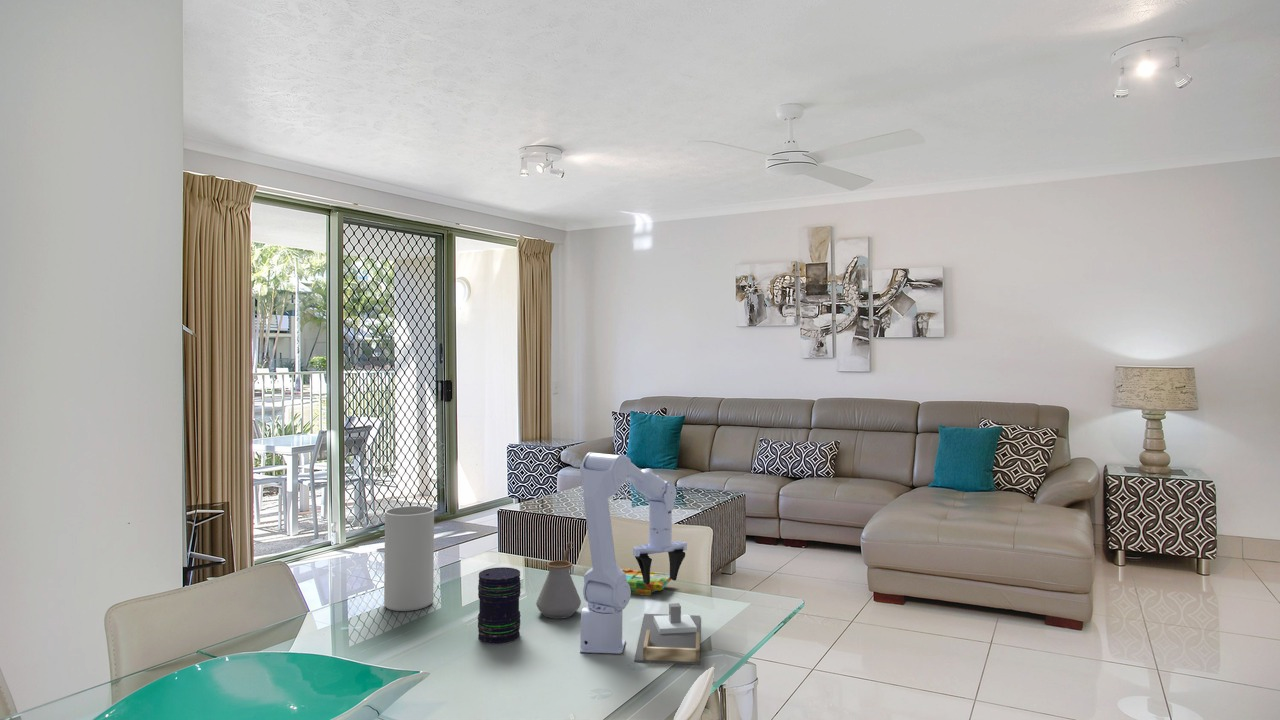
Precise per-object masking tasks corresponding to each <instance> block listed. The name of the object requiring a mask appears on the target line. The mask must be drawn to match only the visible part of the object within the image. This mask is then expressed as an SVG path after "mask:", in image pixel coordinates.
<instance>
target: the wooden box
mask: <svg viewBox="0 0 1280 720" xmlns="http://www.w3.org/2000/svg"><path fill="white" fill-rule="evenodd" d="M649 644H650V630H647V631H646V636H645V641H644V646H643V660H659V661H684V662H699V655H700V656H701V652H700V651H701V631H700V632H696V648H671V647H649Z"/></svg>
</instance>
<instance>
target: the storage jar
mask: <svg viewBox="0 0 1280 720" xmlns="http://www.w3.org/2000/svg"><path fill="white" fill-rule="evenodd" d="M521 584H522V583H521V571H520V570H519V569H518V568H515V567H504V566H503V567H493V568H492V567H491V568H490V567H489V568H486V569H484V570H481V571H480V572H479V573H478V584H477V590H478V593H477V597H478V599H479V605H478V606H479V613H478V615H477V629H478V636H477V638H478V641H479V642H482V643H484V644H488V645H503V644H509V643H513V642H515V641H517V640H518V639H519V638H520V637H521V636H520V635H521V632H520V629H521V611H520V597H521V593H522V591H521V586H522V585H521Z"/></svg>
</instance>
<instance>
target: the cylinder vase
mask: <svg viewBox="0 0 1280 720" xmlns="http://www.w3.org/2000/svg"><path fill="white" fill-rule="evenodd" d="M434 545H435V508H434V507H433V506H432V507H431V506H426V505H425V506H424V505H408V506H407V505H406V506H398V507H392V508H389V509H386V510H385V511H384V571H383V572H384V574H383V575H384V576H383V577H384V578H383V580H384V581H383V582H384V583H383V587H384V589H383V593H384V594H383V595H384V597H383V602H384V603H383V605H384V606H385V608H386V609H387V610H390V611H395V612H411V611H418V610H422V609H425V608H428V607H429V606H430V605H432V604H433V602H434V583H435V582H434V580H435V579H434V576H435V575H434V573H435V571H434V570H435V569H434V568H435V567H434V566H435V564H434V563H435V558H434V555H435V554H434V552H435V546H434Z"/></svg>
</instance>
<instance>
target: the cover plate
mask: <svg viewBox="0 0 1280 720" xmlns="http://www.w3.org/2000/svg"><path fill="white" fill-rule="evenodd" d="M690 615H691V614H682V605H680V603H679V602H675V603H674V602H673V603H672V602H671V603H668V614H667V615H663V616H654V623H655V625H656V627H657V629H658V631H659V633H660V634H668V633H690V632H697V627H696V625H695V623H694V622H693V620H692V619H691V617H690Z"/></svg>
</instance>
